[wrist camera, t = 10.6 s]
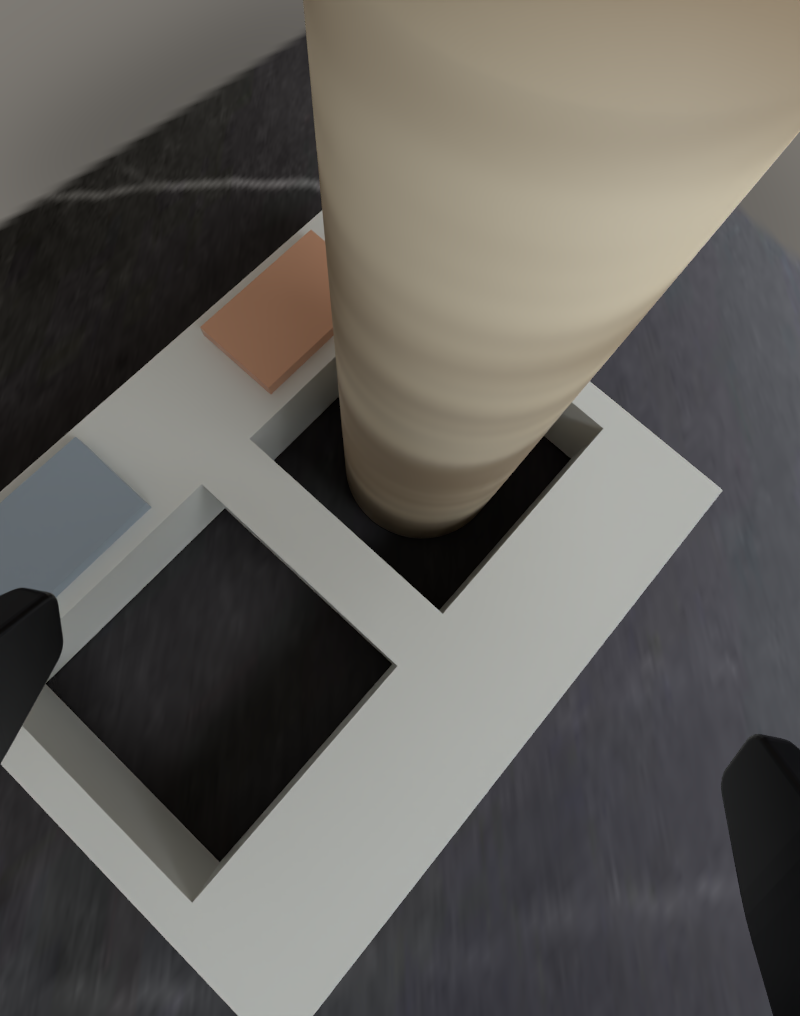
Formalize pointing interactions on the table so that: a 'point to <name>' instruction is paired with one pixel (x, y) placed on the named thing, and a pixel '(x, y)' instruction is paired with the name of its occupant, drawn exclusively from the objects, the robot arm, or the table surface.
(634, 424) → the socket board
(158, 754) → the table surface
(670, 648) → the table surface
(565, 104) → the plug
